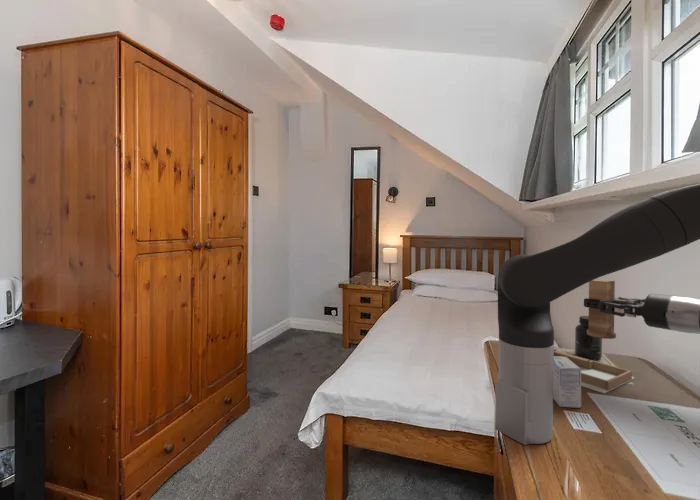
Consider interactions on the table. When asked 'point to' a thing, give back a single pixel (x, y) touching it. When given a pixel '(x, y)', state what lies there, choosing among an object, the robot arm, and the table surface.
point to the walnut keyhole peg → (599, 321)
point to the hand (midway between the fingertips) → (589, 301)
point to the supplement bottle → (587, 341)
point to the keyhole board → (598, 373)
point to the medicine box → (566, 383)
